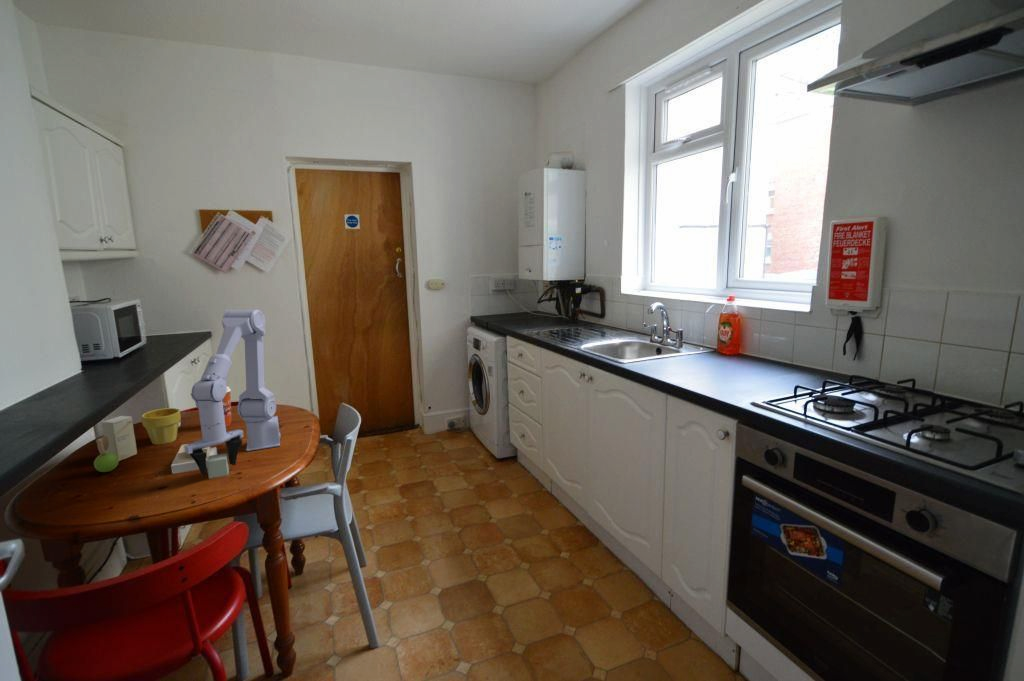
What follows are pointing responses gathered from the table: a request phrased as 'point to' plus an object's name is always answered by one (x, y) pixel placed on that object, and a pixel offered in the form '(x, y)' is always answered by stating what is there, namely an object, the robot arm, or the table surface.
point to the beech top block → (186, 457)
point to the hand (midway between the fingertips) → (218, 469)
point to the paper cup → (227, 407)
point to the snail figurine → (105, 456)
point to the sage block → (218, 465)
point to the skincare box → (120, 436)
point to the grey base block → (188, 463)
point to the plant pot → (162, 424)
